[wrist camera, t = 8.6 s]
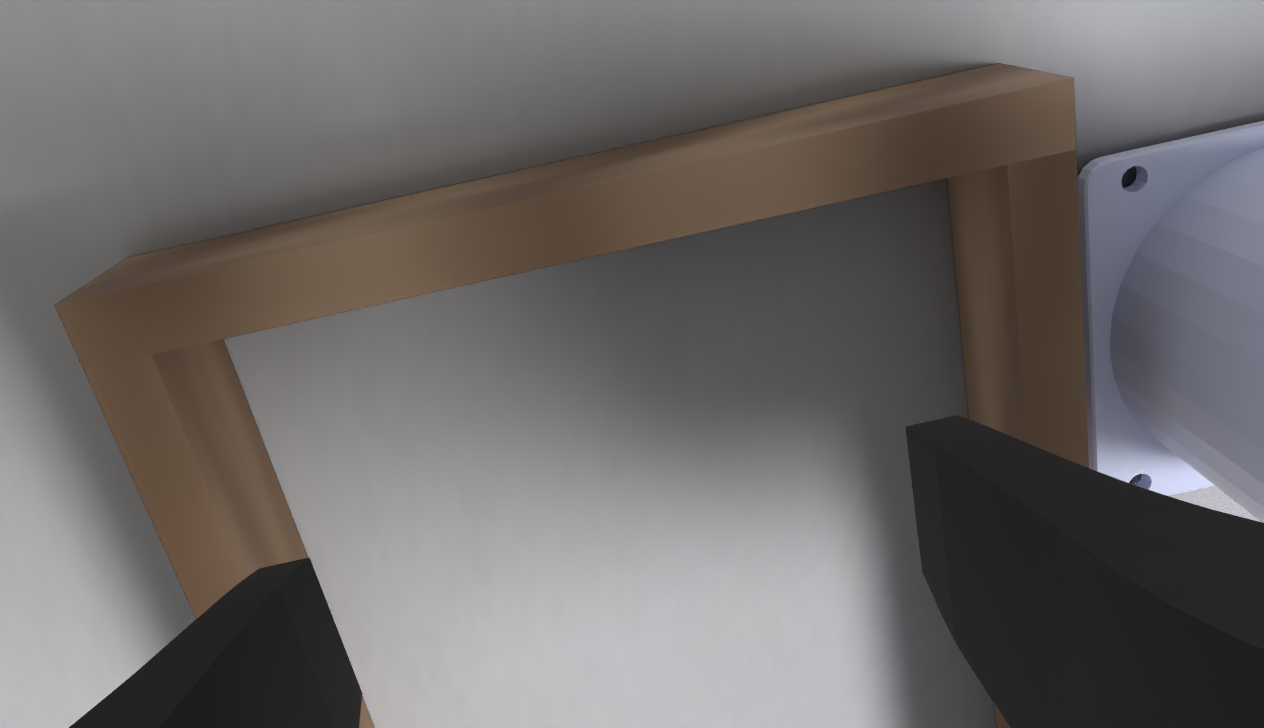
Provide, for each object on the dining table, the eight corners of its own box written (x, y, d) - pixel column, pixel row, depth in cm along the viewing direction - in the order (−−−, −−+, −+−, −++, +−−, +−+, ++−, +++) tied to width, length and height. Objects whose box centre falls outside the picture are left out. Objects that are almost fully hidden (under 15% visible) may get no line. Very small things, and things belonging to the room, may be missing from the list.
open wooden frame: (999, 63, 19) (1073, 78, 16) (1046, 772, 26) (1105, 867, 23) (126, 257, 19) (54, 304, 17) (397, 910, 26) (378, 1022, 23)
